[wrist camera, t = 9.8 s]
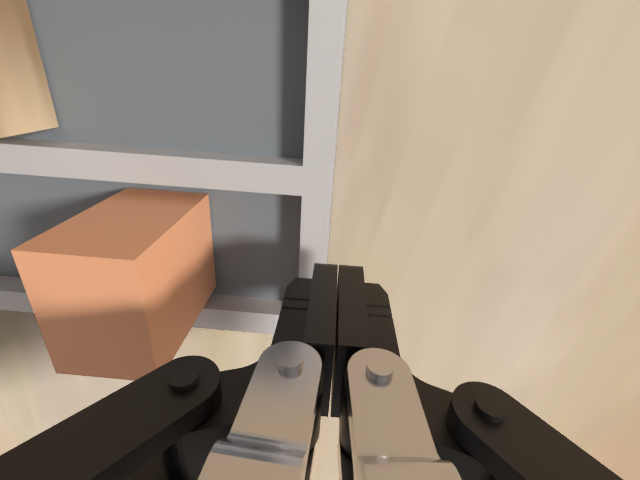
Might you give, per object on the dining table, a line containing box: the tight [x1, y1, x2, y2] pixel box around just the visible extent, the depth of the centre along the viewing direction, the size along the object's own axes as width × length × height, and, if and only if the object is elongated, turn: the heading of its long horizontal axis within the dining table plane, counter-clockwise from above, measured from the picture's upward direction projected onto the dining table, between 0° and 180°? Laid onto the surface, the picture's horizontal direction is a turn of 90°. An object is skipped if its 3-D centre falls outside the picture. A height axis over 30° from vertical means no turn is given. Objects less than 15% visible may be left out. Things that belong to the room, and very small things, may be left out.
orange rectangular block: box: [11, 188, 216, 380], centre depth 11 cm, size 4×3×5 cm
